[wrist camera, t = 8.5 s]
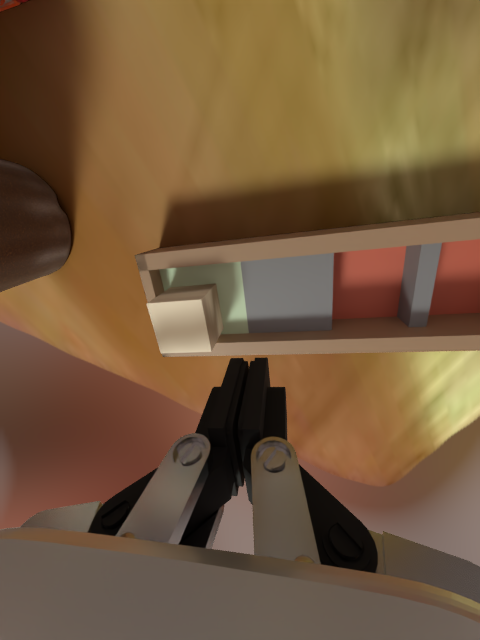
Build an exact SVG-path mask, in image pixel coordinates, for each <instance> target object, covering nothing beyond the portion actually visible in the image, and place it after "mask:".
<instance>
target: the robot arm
mask: <svg viewBox="0 0 480 640" xmlns="http://www.w3.org/2000/svg"><path fill="white" fill-rule="evenodd" d="M244 479H245V481H246V486H247V493H248V497H249V501H250V502H251V504H252V505H253V530H254V555H250V554H243V553H236V552H229V551H221V550H214V549H212V546H213V543H214V540H215V536H216V534H217V531H218V527H219V524H220V521H221V518H222V515H223V512H224V504H225V503H226V502H228V501H229V500H230V499H231V496H237V494H238V488H239V486H243V485H244ZM0 640H480V567H479V566H477V565H475V564H473V563H472V562H470V561H467V560H464V559H461V558H459V557H456V556H453V555H450V554H447V553H444V552H441V551H438V550H436V549H433V548H430V547H427V546H424V545H421V544H418V543H415V542H413V541H410V540H407V539H404V538H401V537H398V536H395V535H392V534H389V533H387V532H384V531H383V534H382V535H381V534H379V533H376V532H373V531H370V530H368V529H367V528H366V527H365V526H364V525H363V524H362V522H361V521H360V520H358V519H357V518H356V517H355V516H354V515H353V514H352V513H351V512H350V511H349V510H348V509H347V508H346V507H344V506H343V505H342V504H341V503H340V502H339V501H338V500H337V499H336V498H335V497H334V496H332V495H331V494H330V493H329V492H328V491H327V490H326V489H325V488H324V487H323V486H322V485H321V484H320V483H319V482H317V481H316V480H315V479H314V478H313V477H312V476H311V475H310V474H309V473H308V472H307V471H306V470H304V469H303V468H302V467H301V466H300V465H299V464H298V460H297V455H296V452H295V450H294V448H293V446H292V445H291V444H290V443H289V442H288V441H287V410H286V392H285V387H270V378H269V367H268V358H255V361H251V362H250V367H249V366H248V361H244V360H243V358H231V359H230V362H229V365H228V368H227V371H226V374H225V377H224V380H223V383H222V385H221V387H213V389H212V391H211V393H210V396H209V398H208V401H207V404H206V406H205V409H204V411H203V414H202V417H201V419H200V422H199V425H198V427H197V430H196V432H195V433H192V434H188V435H185V436H183V437H181V438H180V439H178V440H177V441H176V442H175V443H174V444H173V446H172V447H171V448H170V450H169V451H168V453H167V455H166V456H165V458H164V459H163V461H162V463H161V464H160V466H159V467H158V468H157V469H155V470H153V471H152V472H150V473H149V474H147V475H146V476H144V477H142V478H141V479H139V480H138V481H136V482H135V483H133V484H132V485H130V486H129V487H127V488H125V489H124V490H122V491H121V492H119V493H118V494H116V495H115V496H113V497H112V498H111V499H109V500H108V501H107V502H105V503H104V504H102V503H101V502H100V501H97V502H91V503H85V504H80V505H73V506H67V507H62V508H56V509H50V510H45V511H42V512H39V513H37V514H36V515H34V516H32V517H31V518H30V519H28V520H27V521H26V522H25V523H24V524H23V525H22V526H21V527H18V528H7V529H1V530H0Z"/></svg>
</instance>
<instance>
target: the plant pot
mask: <svg viewBox="0 0 480 640" xmlns="http://www.w3.org/2000/svg"><path fill="white" fill-rule="evenodd" d="M70 247H71V231H70V225H69V221H68V218H67V215H66V214H65V213H64V212H63V210H62V209H61V208H60V206H59V204H58V201H57V196H56V194H55V193H54V191H53V190H52V189H51V188H50V186H49V185H48V184H47V183H46V182H45V181H44V180H43V179H42V178H40V177H39V176H38V175H37V174H35V173H34V172H32V171H31V170H29V169H27V168H26V167H24V166H21V165H19V164H16V163H13V162H10V161H6V160H2V159H0V292H2V291H4V290H7V289H10V288H12V287H15V286H18V285H21V284H23V283H26V282H29V281H31V280H34V279H37V278H40V277H42V276H46V275H49V274H51V273H53V272H55V271H57V270H59V269H60V268H61V267H62V266H63V265H64V263H65V262H66V260H67V258H68V255H69V252H70Z"/></svg>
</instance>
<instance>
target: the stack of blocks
mask: <svg viewBox="0 0 480 640" xmlns="http://www.w3.org/2000/svg"><path fill="white" fill-rule="evenodd" d="M26 1H29V0H0V12H1V11H4V10H7V9H10V8H12V7H15V6H18V5H20V3H21V2H26Z"/></svg>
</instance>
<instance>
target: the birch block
mask: <svg viewBox="0 0 480 640" xmlns="http://www.w3.org/2000/svg"><path fill="white" fill-rule="evenodd" d="M147 307H148V310H149V314H150V317H151V321H152V324H153V328H154V331H155V335H156V338H157V342H158V345H159V349H160V352H161V353H191V352H212V350H213V348H214V346H215V344H216V342H217V340H218V338H219V336H220V334H221V332H222V330H223V328H224V327H223V321H222V316H221V310H220V304H219V298H218V292H217V286H216V284H204V285H193V286H182V287H170V288H169V289H167V290H166V291H164V292H163V293H161V294H160V295H158V296H157V297H155V298H154V299H153V300H151V301H150V302H148V303H147Z"/></svg>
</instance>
